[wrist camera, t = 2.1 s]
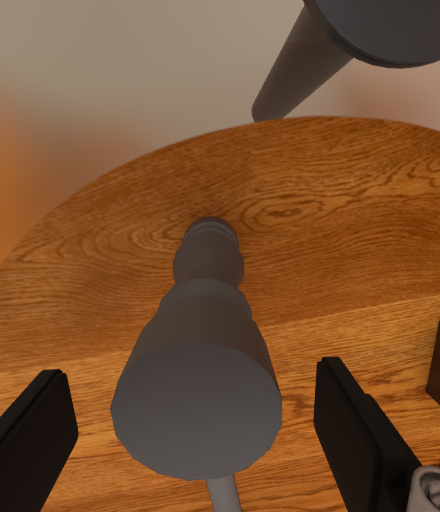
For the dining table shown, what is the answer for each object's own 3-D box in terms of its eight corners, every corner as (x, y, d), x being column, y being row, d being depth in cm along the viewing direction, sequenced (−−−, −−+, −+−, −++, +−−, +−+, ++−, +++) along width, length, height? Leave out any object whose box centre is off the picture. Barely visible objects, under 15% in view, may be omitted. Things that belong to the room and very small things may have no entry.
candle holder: (181, 264, 34) (100, 478, 10) (186, 212, 32) (104, 322, 8) (232, 270, 34) (272, 493, 10) (240, 219, 33) (309, 345, 9)
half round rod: (220, 532, 47) (220, 546, 45) (195, 441, 42) (194, 453, 40) (246, 528, 47) (247, 542, 45) (223, 436, 41) (224, 448, 40)
